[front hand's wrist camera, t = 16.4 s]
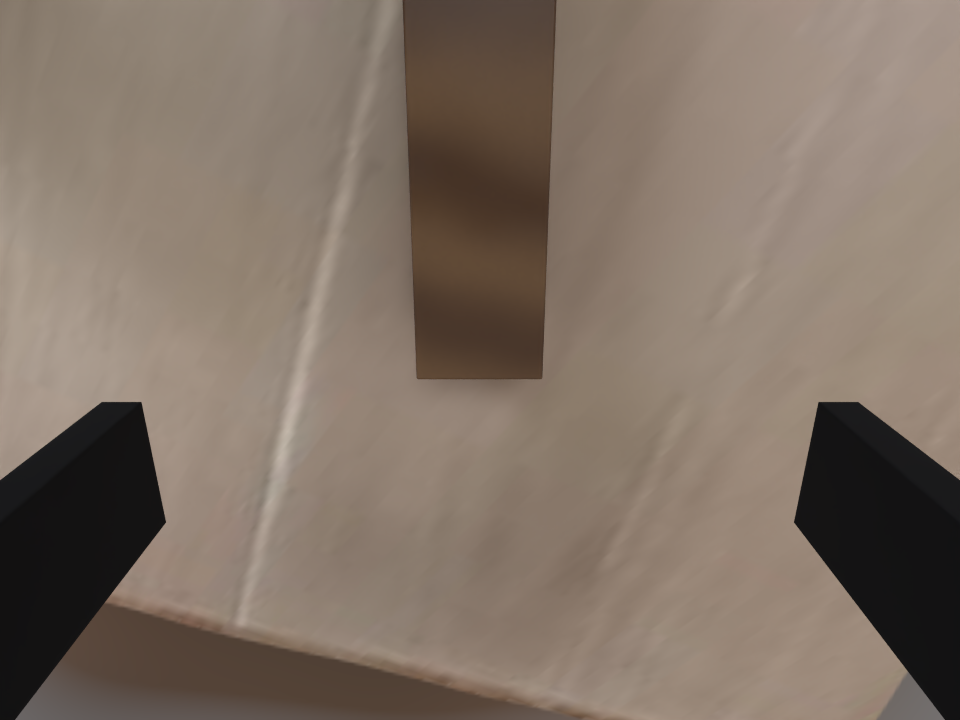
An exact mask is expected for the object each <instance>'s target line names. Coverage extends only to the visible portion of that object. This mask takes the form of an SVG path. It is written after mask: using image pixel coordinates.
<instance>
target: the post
mask: <svg viewBox="0 0 960 720" xmlns="http://www.w3.org/2000/svg"><path fill="white" fill-rule="evenodd" d="M403 21H404V48H405V75H406V102H407V129H408V156H409V183H410V210H411V237H412V264H413V291H414V318H415V345H416V372H417V379H542V371H543V344H544V317H545V290H546V263H547V237H548V210H549V183H550V156H551V129H552V102H553V75H554V48H555V22H556V0H403Z"/></svg>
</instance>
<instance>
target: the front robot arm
mask: <svg viewBox="0 0 960 720" xmlns="http://www.w3.org/2000/svg"><path fill="white" fill-rule="evenodd" d="M165 523H166V520H165V515H164V510H163V506H162V501H161V496H160V491H159V486H158V481H157V476H156V471H155V466H154V461H153V457H152V452H151V447H150V442H149V437H148V432H147V427H146V422H145V417H144V412H143V408H142V403H141V402H101V403H100V404H99V405H98V406H96V407H95V408H94V409H92V410H91V411H90V412H88V413H87V414H86V415H84V416H83V417H82V418H81V419H79V420H78V421H77V422H75V423H74V424H73V425H71V426H70V427H69V428H68V429H66V430H65V431H64V432H62V433H61V434H60V435H58V436H57V437H56V438H55V439H53V440H52V441H51V442H49V443H48V444H47V445H45V446H44V447H43V448H42V449H40V450H39V451H38V452H36V453H35V454H34V455H32V456H31V457H30V458H29V459H27V460H26V461H25V462H23V463H22V464H21V465H19V466H18V467H17V468H15V469H14V470H13V471H12V472H10V473H9V474H8V475H6V476H5V477H4V478H2V479H1V480H0V720H15V719H16V718H17V716H18V715H19V714H20V712H21V711H22V710H23V709H24V707H25V706H26V705H27V703H28V702H29V701H30V699H31V698H32V697H33V695H34V694H35V693H36V692H37V690H38V689H39V688H40V686H41V685H42V684H43V682H44V681H45V680H46V679H47V677H48V676H49V675H50V673H51V672H52V671H53V669H54V668H55V667H56V665H57V664H58V663H59V661H60V660H61V659H62V658H63V656H64V655H65V654H66V652H67V651H68V650H69V648H70V647H71V646H72V644H73V643H74V642H75V641H76V639H77V638H78V637H79V635H80V634H81V633H82V631H83V630H84V629H85V628H86V626H87V625H88V624H89V622H90V621H91V620H92V618H93V617H94V616H95V614H96V613H97V612H98V611H99V609H100V608H101V607H102V605H103V604H104V603H105V601H106V600H107V599H108V597H109V596H110V595H111V594H112V592H113V591H114V590H115V588H116V587H117V586H118V584H119V583H120V582H121V580H122V579H123V578H124V577H125V575H126V574H127V573H128V571H129V570H130V569H131V567H132V566H133V565H134V563H135V562H136V561H137V560H138V558H139V557H140V556H141V554H142V553H143V552H144V550H145V549H146V548H147V546H148V545H149V544H150V543H151V541H152V540H153V539H154V537H155V536H156V535H157V533H158V532H159V531H160V529H161V528H162V527H163V526H164V524H165ZM794 523H795V524H796V526H797V527H798V528H799V529H800V531H801V532H802V533H803V535H804V536H805V537H806V539H807V540H808V541H809V543H810V544H811V545H812V546H813V548H814V549H815V550H816V552H817V553H818V554H819V556H820V557H821V558H822V560H823V561H824V562H825V563H826V565H827V566H828V567H829V569H830V570H831V571H832V573H833V574H834V575H835V577H836V578H837V579H838V580H839V582H840V583H841V584H842V586H843V587H844V588H845V590H846V591H847V592H848V594H849V595H850V596H851V597H852V599H853V600H854V601H855V603H856V604H857V605H858V607H859V608H860V609H861V611H862V612H863V613H864V614H865V616H866V617H867V618H868V620H869V621H870V622H871V624H872V625H873V626H874V628H875V629H876V630H877V631H878V633H879V634H880V635H881V637H882V638H883V639H884V641H885V642H886V643H887V645H888V646H889V647H890V648H891V650H892V651H893V652H894V654H895V655H896V656H897V658H898V659H899V660H900V662H901V663H902V664H903V665H904V667H905V668H906V669H907V671H908V672H909V673H910V675H911V676H912V677H913V679H914V680H915V681H916V682H917V684H918V685H919V686H920V688H921V689H922V690H923V692H924V693H925V694H926V695H927V697H928V698H929V699H930V701H931V702H932V703H933V705H934V706H935V707H936V709H937V710H938V711H939V712H940V714H941V715H942V716H943V718H944V719H945V720H960V480H959V479H958V478H956V477H955V476H954V475H952V474H951V473H950V472H948V471H947V470H946V469H945V468H943V467H942V466H941V465H939V464H938V463H937V462H935V461H934V460H933V459H931V458H930V457H929V456H928V455H926V454H925V453H924V452H922V451H921V450H920V449H918V448H917V447H916V446H915V445H913V444H912V443H911V442H909V441H908V440H907V439H905V438H904V437H903V436H902V435H900V434H899V433H898V432H896V431H895V430H894V429H892V428H891V427H890V426H889V425H887V424H886V423H885V422H883V421H882V420H881V419H879V418H878V417H877V416H876V415H874V414H873V413H872V412H870V411H869V410H868V409H866V408H865V407H864V406H862V405H861V404H860V403H859V402H819V403H818V408H817V412H816V417H815V422H814V427H813V432H812V437H811V442H810V447H809V452H808V457H807V461H806V466H805V471H804V476H803V481H802V486H801V491H800V496H799V501H798V506H797V510H796V515H795V520H794Z"/></svg>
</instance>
